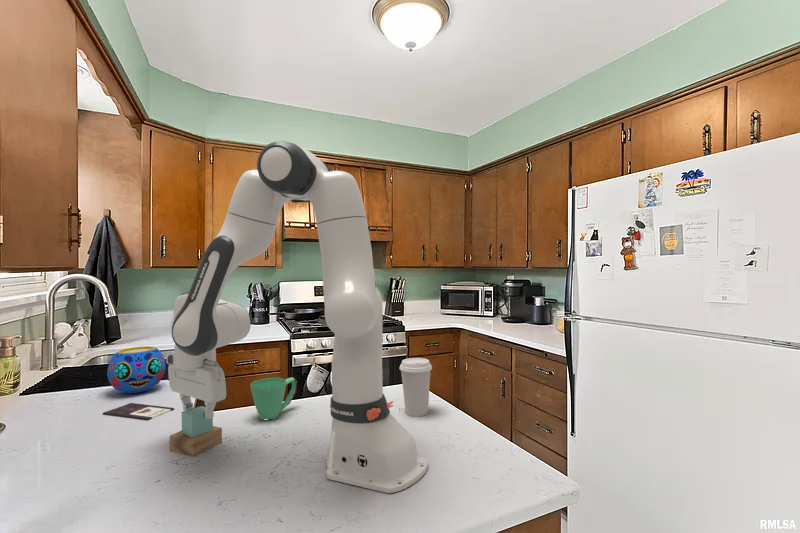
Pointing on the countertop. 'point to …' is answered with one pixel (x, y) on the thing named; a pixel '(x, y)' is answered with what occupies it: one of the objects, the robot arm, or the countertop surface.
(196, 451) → the walnut slab
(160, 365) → the ceramic pot
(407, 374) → the coffee cup
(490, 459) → the countertop surface
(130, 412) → the chocolate bar
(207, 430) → the teal cube
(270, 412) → the mug
